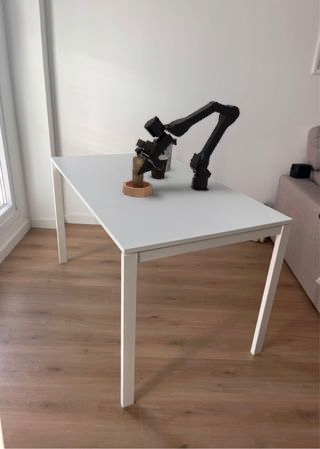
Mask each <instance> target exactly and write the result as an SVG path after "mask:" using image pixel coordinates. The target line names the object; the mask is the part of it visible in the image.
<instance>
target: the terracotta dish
mask: <svg viewBox="0 0 320 449" xmlns="http://www.w3.org/2000/svg"><path fill="white" fill-rule="evenodd" d="M122 185H123V186H122V193H123V194H124V195H126V196H129V197H133V198H143V197H144V198H145V197H149V196H151V195H152V194H153V193H152V191H153V190H152V189H153V186H152V184H151V182H150V181H146V180H143V188H132V179H130V180H127V181H124V182H123V184H122Z"/></svg>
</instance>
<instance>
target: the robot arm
mask: <svg viewBox="0 0 320 449" xmlns="http://www.w3.org/2000/svg"><path fill="white" fill-rule="evenodd" d="M240 111H241V110H240V108H239V107H238V106H236V105H233V104H223V103H220V102H218V101H215V100H210V101H209V102H207V104H204V105H203V106H202V107H200V108H198V109H197V110H194V111H193V112H192V113H190V114H188V115H187V116H183V117H181V118H177V119H175V120H172V121H170V122H169V123H166V124H164V123H163V122H162V120H160V118H159V117H158V115H155V116H154V117H152V118H150V119H149V120H147V121H146V122H145V124H144V125H143V128H144V129H145V131H146V132H147V133H148V134H149V135H150V136H151V137H152V138H153V139H156V138H157V140H156V141H155V142H153V141H151V140H149V139H147V140H143V139H142V138H138V139H137V142H136V144H135V146H136V148H135V149H134V153H135V154H136V156H141V157H144V164H143V166H142V167H141V168H140V170H139V171H138V172H137V175H141V174H146V173H148V172H151V170H154V169H155V170H156V168H155V167H156V166H157V168H158V169H159V170H162V168H163V167H164V164H163V163H162V161H161V160H160V159H159V157H160V155H161V154H163V155H164V154H165V152H164V151H165V150H166V149H167V148H168V147H169V146H170V145H171V144H173V146H177V145H178V139H177V138H181V137H182V136H184V135H185V134H187V132H188V131H189V130H190V129H191V128H192V126H194V125H196V124H197V123H199V122H202V120H204V119H206V118H207V117H209V116H211V115H212V114H214V113H218V121H217V124H216V125H215V127H214V128H213V130H212V132H211V134H210V136H209V137H208V139H207V140H206V141H205V144H204V145H203V147H202V149H201V151H199V152H198V153H197V152H194V153H193V155H192V158H191V159H189V161H190V162H189V167H190V169H191V170H192V173H193V175H192V178H191V185H190V186H191V187H192V189H193V190H194V191H208V190H209V188H208V183H209V179H210V178H211V176H212V172H211V171H210V170H209V169H208V167H209V165H210V159H211V156H212V154H213V153H214V151H215V150H216V147H217V145H218V144H219V143H220V141H221V140H222V138H223V136H224V134H225V133H226V131H227V129H228V128H229V127H231V126H232V125H233V124H234V123H235V122H236V121H237V120H238V118H239V117H240V116H241V112H240ZM167 132H168V133H167ZM173 136H174V137H176V138H174V137H173Z"/></svg>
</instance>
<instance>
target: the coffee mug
mask: <svg viewBox="0 0 320 449" xmlns="http://www.w3.org/2000/svg"><path fill="white" fill-rule="evenodd" d="M159 159H160V160H161V161H162V163H163V164H164V167H163V168H162V170H159V169H158V168H157V166H156V167H155V168H156V170H155V169H154V170H151V171H150V172H151V173H150V174H151V175H150V177H151V178H152V179H153V180H163V179H165V175H166V172H167V171H166V166H167V160H168V158H167V157H165V156H160V157H159ZM165 171H166V172H165Z"/></svg>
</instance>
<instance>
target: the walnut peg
mask: <svg viewBox="0 0 320 449" xmlns="http://www.w3.org/2000/svg"><path fill="white" fill-rule="evenodd" d="M143 164H144V157H141V156H137V155H136V156H133V157H132V169H131V171H132V176H131V177H132V178H131V180H132V188H143V181H144V178H145V177H144V174H145V173H144V174H141V175H137V172H138V171H139V170H140V168H141V167H142V166H143Z"/></svg>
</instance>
